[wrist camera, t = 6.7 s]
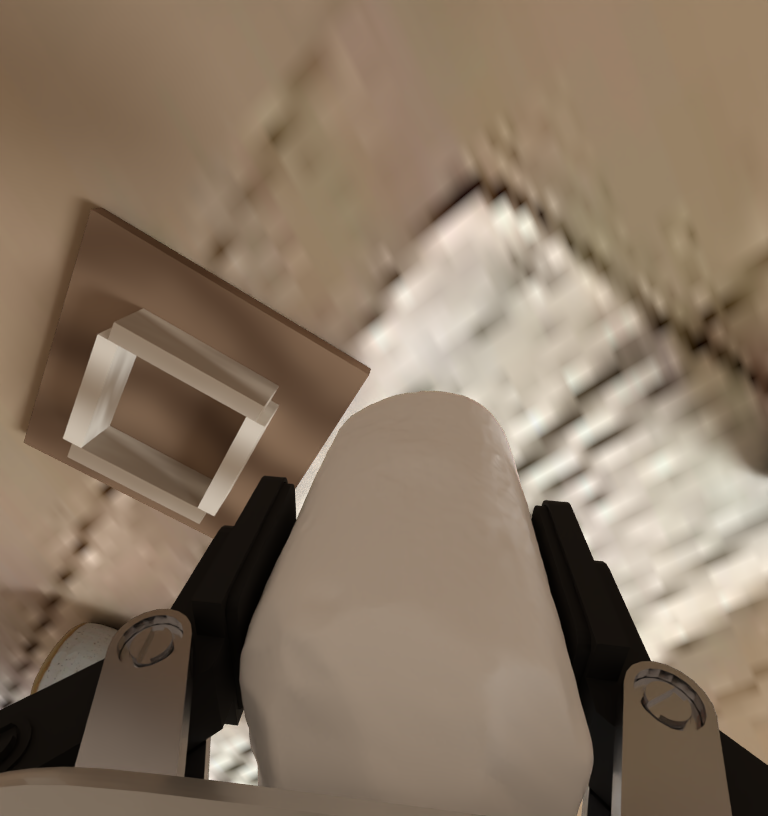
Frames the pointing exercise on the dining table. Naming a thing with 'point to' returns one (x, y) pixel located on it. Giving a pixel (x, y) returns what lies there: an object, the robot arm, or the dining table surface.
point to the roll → (416, 628)
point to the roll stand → (181, 382)
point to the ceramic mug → (74, 653)
